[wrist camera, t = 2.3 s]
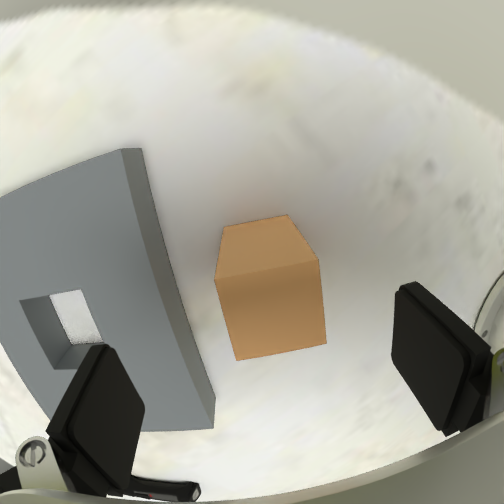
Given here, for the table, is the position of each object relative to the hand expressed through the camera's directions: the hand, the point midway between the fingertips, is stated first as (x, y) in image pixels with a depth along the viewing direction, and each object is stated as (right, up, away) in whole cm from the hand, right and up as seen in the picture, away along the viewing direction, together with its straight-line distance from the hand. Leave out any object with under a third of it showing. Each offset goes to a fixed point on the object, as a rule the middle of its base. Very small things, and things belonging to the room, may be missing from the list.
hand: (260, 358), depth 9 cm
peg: (0, +3, +10) cm, 11 cm away
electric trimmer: (-14, -26, +20) cm, 36 cm away
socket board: (-13, -1, +11) cm, 17 cm away
